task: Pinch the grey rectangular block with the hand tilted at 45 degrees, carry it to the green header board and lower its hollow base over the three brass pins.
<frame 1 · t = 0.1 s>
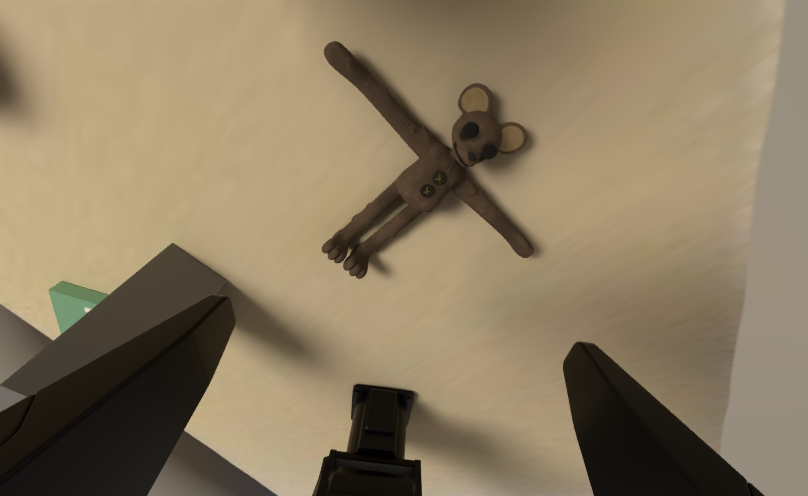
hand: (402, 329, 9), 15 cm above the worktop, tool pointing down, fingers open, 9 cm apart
grey rectangular block: (186, 277, 28), on the worktop
brown clay figure: (414, 183, 23), on the worktop
header board: (125, 330, 32), on the worktop
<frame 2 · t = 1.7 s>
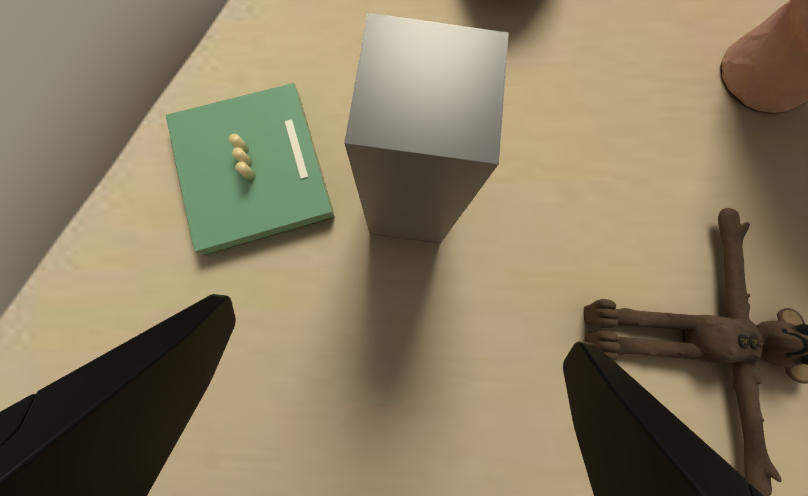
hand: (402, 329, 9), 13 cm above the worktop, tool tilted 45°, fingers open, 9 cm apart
grey rectangular block: (409, 204, 23), on the worktop
brown clay figure: (679, 335, 23), on the worktop
header board: (254, 169, 23), on the worktop
ice cream cone: (757, 77, 27), on the worktop
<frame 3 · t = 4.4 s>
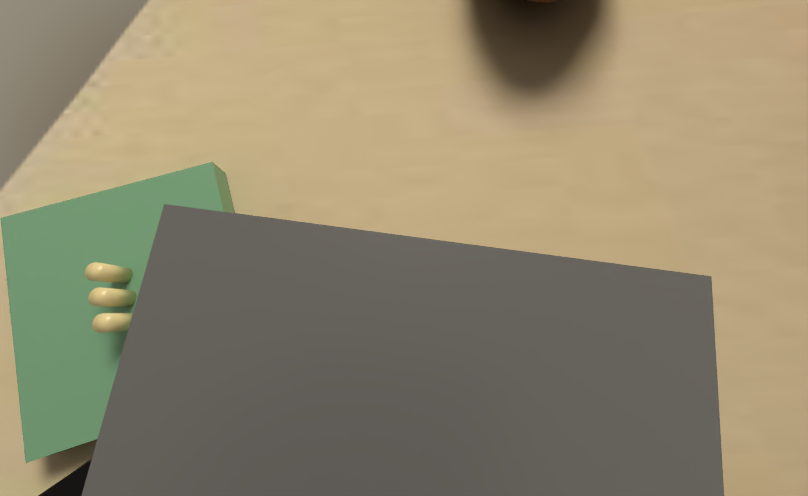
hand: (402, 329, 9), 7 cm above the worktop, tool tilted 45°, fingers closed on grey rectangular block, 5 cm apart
grey rectangular block: (393, 353, 15), on the worktop, touching gripper
header board: (148, 299, 15), on the worktop
when the fingers open (8 cm above the worktop, at t = 9.0 s): grey rectangular block stays where it is, resting on header board.
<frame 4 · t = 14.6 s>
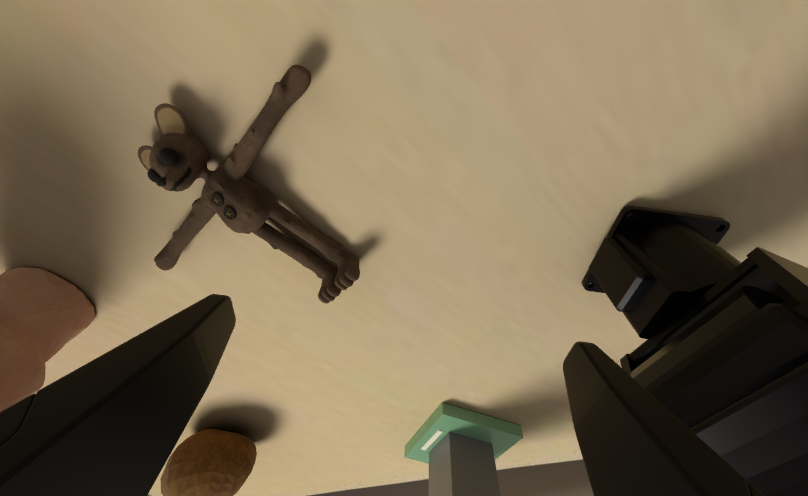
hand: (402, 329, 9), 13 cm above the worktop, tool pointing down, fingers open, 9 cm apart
grey rectangular block: (459, 448, 35), point 1 cm above the worktop, touching header board
brown clay figure: (269, 203, 22), on the worktop
header board: (459, 436, 36), on the worktop
ice cream cone: (55, 296, 28), on the worktop
potato: (226, 430, 39), on the worktop
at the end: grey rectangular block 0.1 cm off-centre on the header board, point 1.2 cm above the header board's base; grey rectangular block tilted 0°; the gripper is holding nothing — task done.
